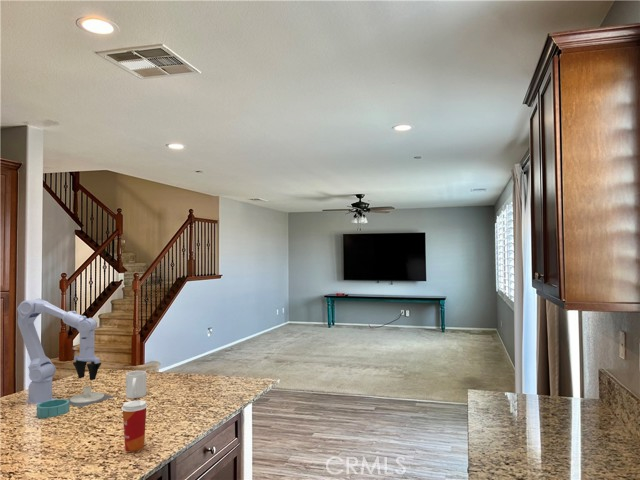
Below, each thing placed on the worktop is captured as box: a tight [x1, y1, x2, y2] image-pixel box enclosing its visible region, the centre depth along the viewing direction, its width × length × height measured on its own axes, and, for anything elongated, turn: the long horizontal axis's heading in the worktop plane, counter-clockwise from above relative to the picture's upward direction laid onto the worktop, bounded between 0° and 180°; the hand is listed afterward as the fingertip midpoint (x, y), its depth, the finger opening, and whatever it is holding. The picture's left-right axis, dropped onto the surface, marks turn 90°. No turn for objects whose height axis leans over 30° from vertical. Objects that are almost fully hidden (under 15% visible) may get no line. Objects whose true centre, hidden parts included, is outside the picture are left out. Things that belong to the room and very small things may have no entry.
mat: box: [66, 393, 116, 408], centre depth 197 cm, size 16×16×1 cm
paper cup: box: [121, 399, 148, 452], centre depth 146 cm, size 8×8×14 cm
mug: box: [125, 370, 147, 399], centre depth 199 cm, size 12×8×10 cm
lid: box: [70, 386, 105, 404], centre depth 197 cm, size 13×13×5 cm
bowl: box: [36, 398, 70, 420], centre depth 180 cm, size 11×11×4 cm
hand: (87, 378), depth 196 cm, fingers open, 7 cm apart
